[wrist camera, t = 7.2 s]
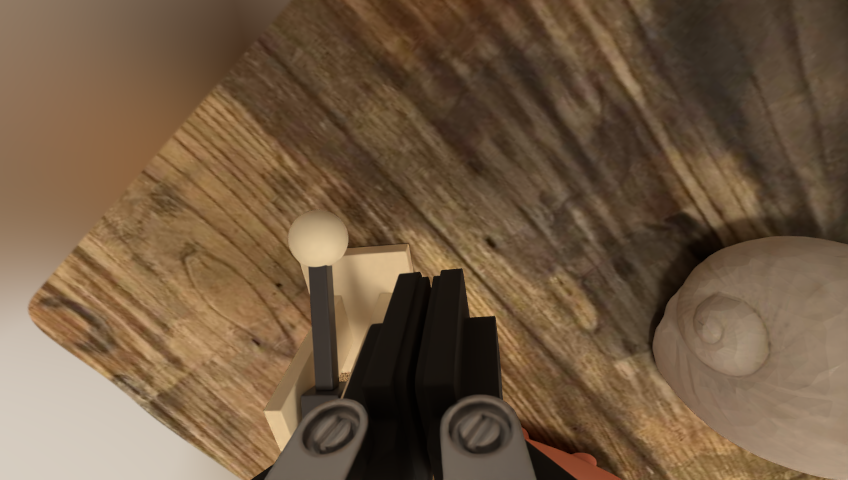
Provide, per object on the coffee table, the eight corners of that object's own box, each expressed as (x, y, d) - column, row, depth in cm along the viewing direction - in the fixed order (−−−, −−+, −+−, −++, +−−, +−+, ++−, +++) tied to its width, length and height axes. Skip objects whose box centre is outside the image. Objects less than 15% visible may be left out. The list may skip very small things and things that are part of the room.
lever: (303, 214, 26) (274, 209, 22) (354, 210, 25) (333, 203, 22) (315, 424, 25) (288, 451, 22) (368, 424, 25) (348, 452, 21)
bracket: (304, 251, 31) (213, 363, 20) (408, 243, 29) (369, 359, 19) (338, 362, 35) (279, 501, 25) (429, 360, 34) (407, 505, 24)
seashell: (756, 192, 32) (750, 200, 20) (1004, 306, 25) (1204, 417, 13) (640, 334, 38) (585, 401, 27) (810, 455, 31) (833, 615, 20)
